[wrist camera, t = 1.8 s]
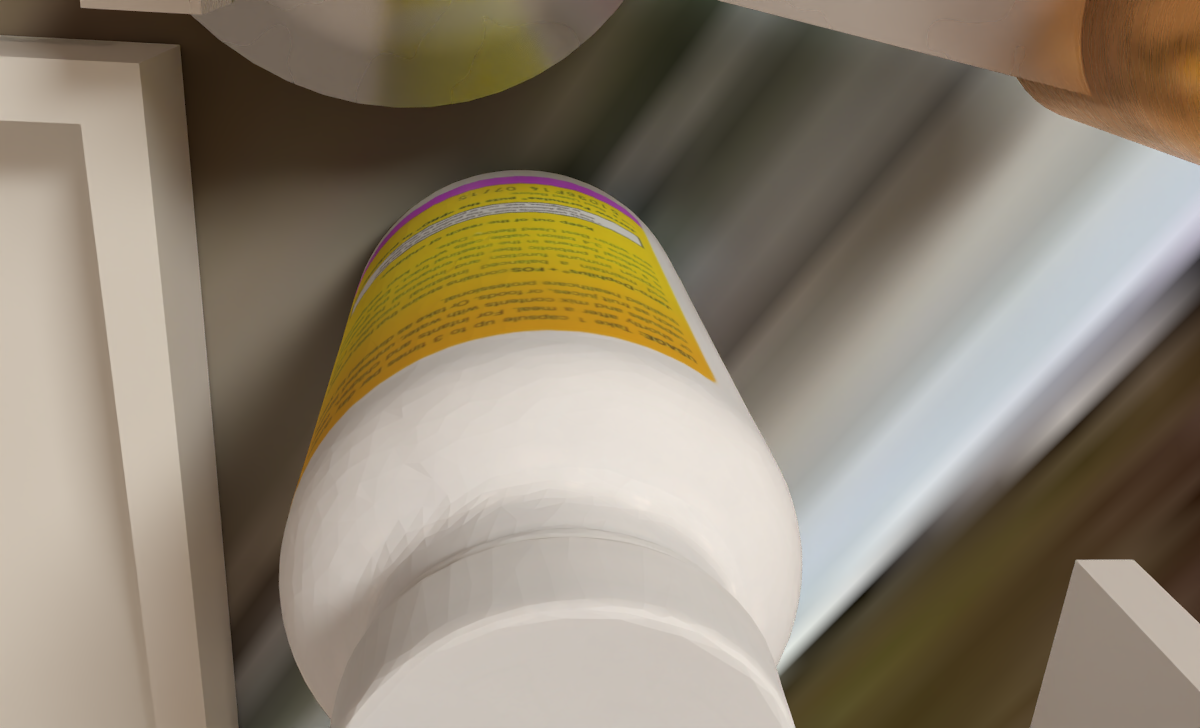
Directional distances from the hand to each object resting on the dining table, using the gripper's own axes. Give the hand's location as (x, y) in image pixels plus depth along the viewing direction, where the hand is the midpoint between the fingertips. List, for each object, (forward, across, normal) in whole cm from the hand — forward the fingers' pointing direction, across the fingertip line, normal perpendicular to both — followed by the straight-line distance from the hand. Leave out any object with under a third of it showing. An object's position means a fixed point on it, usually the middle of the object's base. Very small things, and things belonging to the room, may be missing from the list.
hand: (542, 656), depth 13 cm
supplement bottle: (+10, 0, 0) cm, 10 cm away
